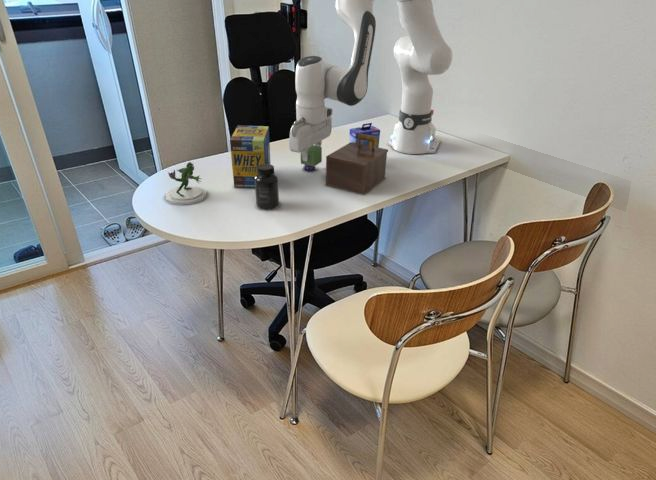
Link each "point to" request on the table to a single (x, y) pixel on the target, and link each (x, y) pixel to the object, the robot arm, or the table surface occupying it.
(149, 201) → the table surface
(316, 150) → the green toy block
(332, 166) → the chest
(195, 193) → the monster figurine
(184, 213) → the table surface
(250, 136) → the protein box
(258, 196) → the supplement bottle
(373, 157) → the chest lid
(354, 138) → the ink cartridge box
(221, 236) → the table surface
